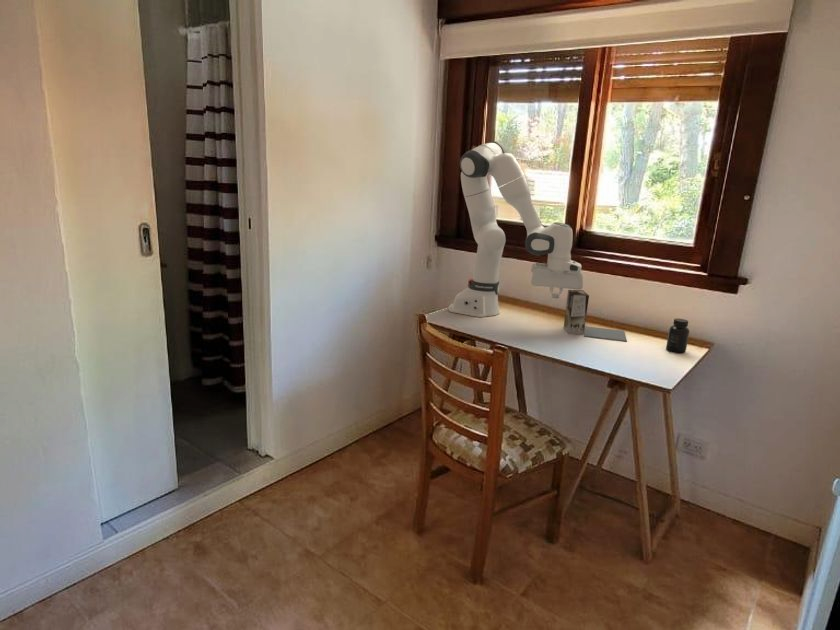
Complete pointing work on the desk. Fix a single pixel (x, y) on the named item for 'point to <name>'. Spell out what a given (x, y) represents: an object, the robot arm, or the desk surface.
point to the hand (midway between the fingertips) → (555, 297)
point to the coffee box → (576, 311)
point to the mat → (605, 333)
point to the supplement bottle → (678, 336)
